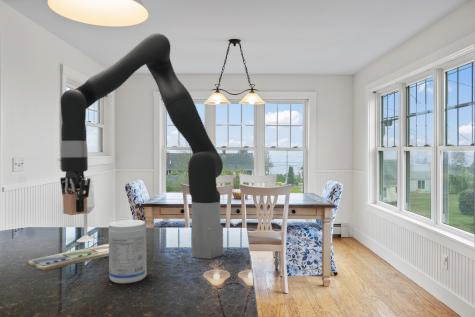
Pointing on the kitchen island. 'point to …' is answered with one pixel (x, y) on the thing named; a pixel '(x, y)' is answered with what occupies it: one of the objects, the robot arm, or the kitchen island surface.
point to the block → (72, 204)
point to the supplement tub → (127, 251)
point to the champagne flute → (89, 208)
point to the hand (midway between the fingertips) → (75, 210)
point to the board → (70, 257)
